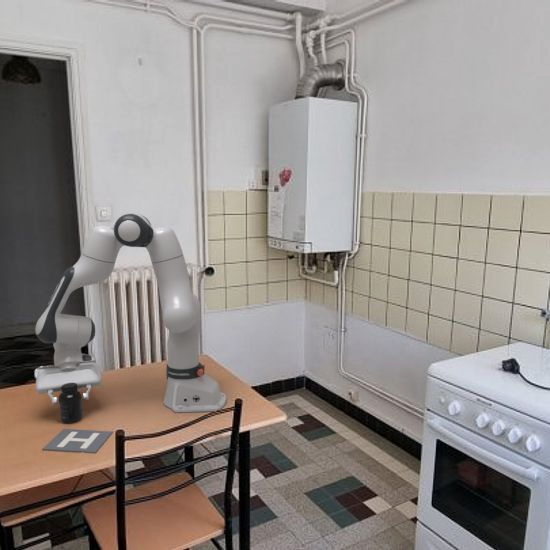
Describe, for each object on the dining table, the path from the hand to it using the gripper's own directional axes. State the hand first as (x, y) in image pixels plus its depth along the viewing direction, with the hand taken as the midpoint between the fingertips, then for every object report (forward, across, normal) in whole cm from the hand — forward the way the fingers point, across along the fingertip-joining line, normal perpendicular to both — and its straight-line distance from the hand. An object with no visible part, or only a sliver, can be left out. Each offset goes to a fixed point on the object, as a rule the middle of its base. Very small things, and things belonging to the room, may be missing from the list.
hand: (70, 401), depth 154 cm
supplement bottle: (+4, 0, +5) cm, 7 cm away
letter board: (+15, +2, -6) cm, 17 cm away
